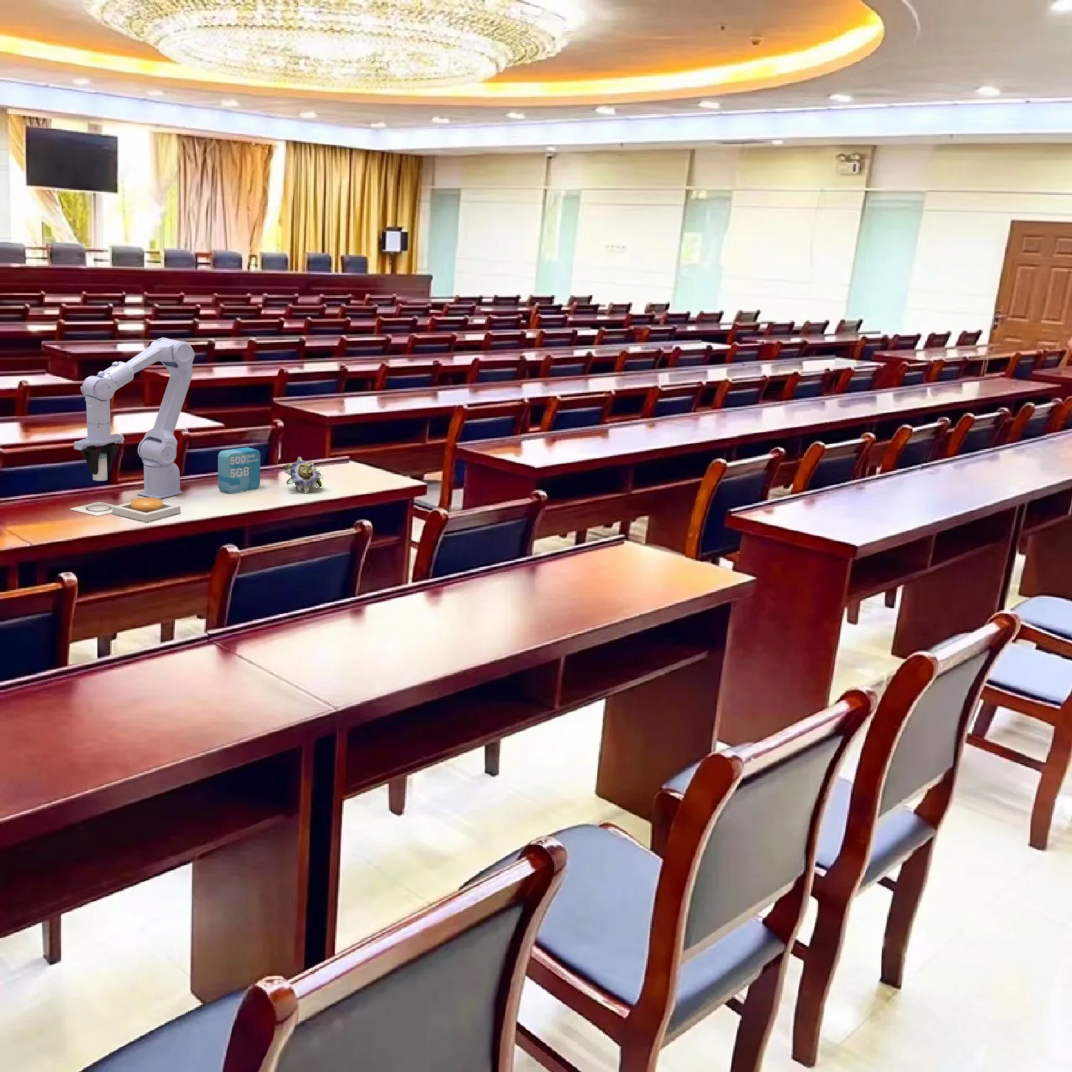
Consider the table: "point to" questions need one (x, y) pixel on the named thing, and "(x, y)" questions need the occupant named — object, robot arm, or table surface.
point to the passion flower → (303, 475)
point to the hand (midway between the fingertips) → (100, 472)
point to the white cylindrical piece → (101, 468)
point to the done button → (146, 504)
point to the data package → (238, 470)
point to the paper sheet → (95, 508)
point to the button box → (145, 512)
